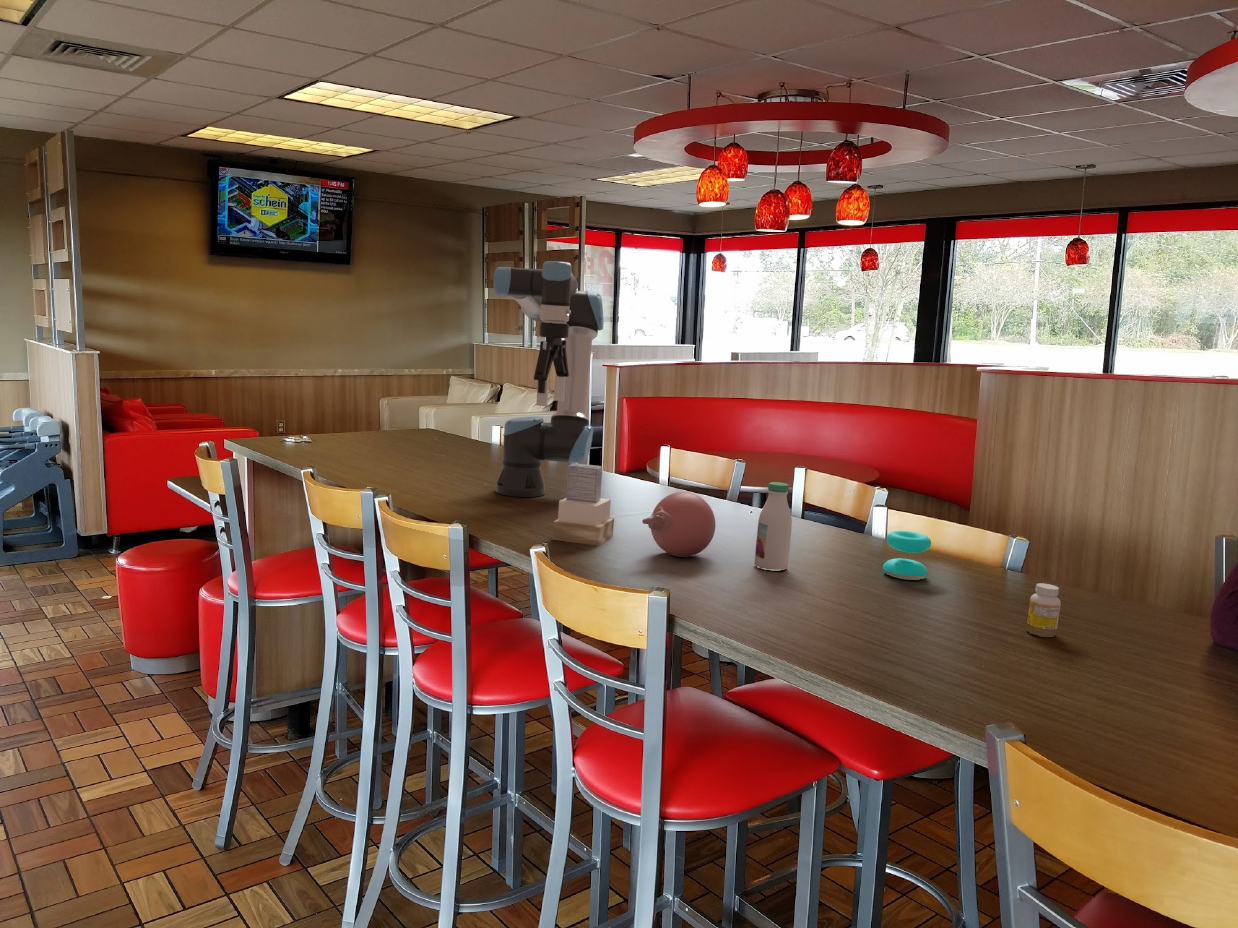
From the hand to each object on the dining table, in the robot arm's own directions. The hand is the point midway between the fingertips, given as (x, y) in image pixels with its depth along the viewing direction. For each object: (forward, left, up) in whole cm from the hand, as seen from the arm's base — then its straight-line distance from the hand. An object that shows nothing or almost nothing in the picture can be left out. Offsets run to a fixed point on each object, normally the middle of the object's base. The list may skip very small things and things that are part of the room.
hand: (550, 403), depth 243 cm
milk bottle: (+18, +63, -32) cm, 73 cm away
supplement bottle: (+40, +118, -32) cm, 129 cm away
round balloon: (+20, +40, -32) cm, 55 cm away
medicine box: (+13, +15, -22) cm, 30 cm away
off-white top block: (+13, +15, -27) cm, 34 cm away
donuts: (+9, +93, -32) cm, 99 cm away
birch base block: (+13, +16, -32) cm, 38 cm away
